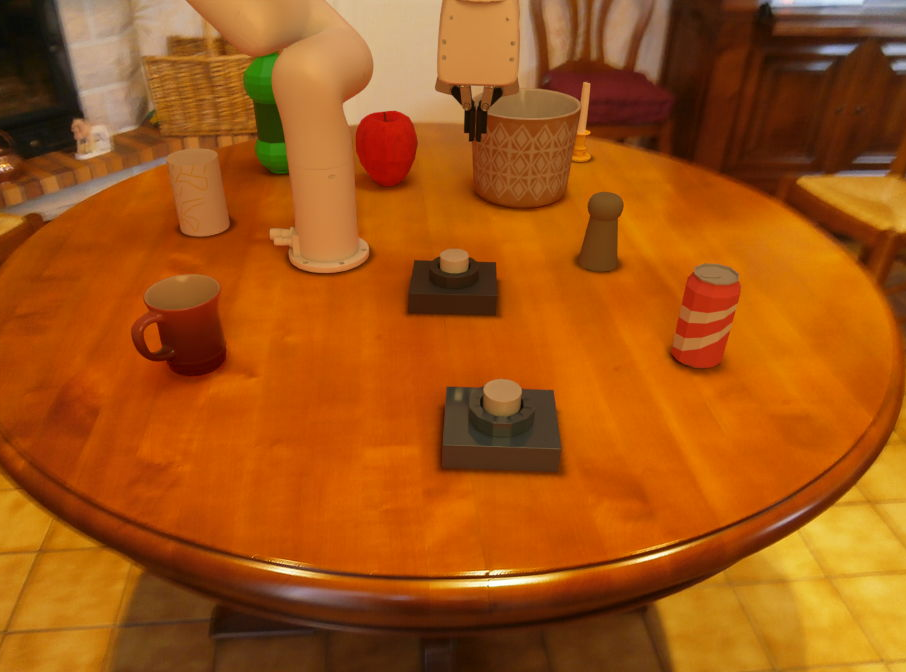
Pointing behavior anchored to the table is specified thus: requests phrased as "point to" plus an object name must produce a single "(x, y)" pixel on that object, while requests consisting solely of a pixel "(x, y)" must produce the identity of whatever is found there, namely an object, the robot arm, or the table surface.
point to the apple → (386, 146)
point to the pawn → (601, 232)
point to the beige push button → (502, 397)
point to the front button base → (501, 433)
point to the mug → (184, 324)
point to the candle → (582, 128)
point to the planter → (526, 148)
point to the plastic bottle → (266, 114)
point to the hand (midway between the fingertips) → (475, 138)
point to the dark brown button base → (453, 289)
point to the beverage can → (706, 315)
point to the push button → (454, 261)
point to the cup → (198, 191)
